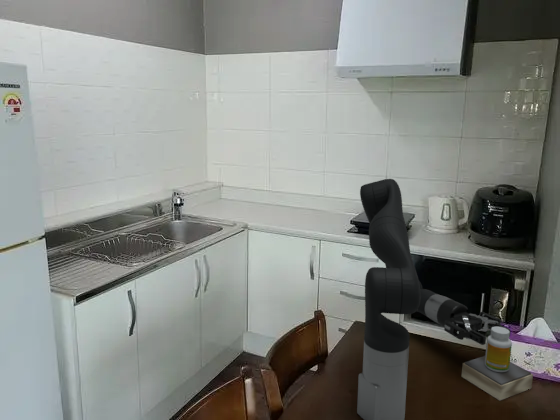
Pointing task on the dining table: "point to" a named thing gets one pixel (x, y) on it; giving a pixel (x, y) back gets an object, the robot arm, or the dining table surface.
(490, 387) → the plinth
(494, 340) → the supplement bottle
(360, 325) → the dining table surface
